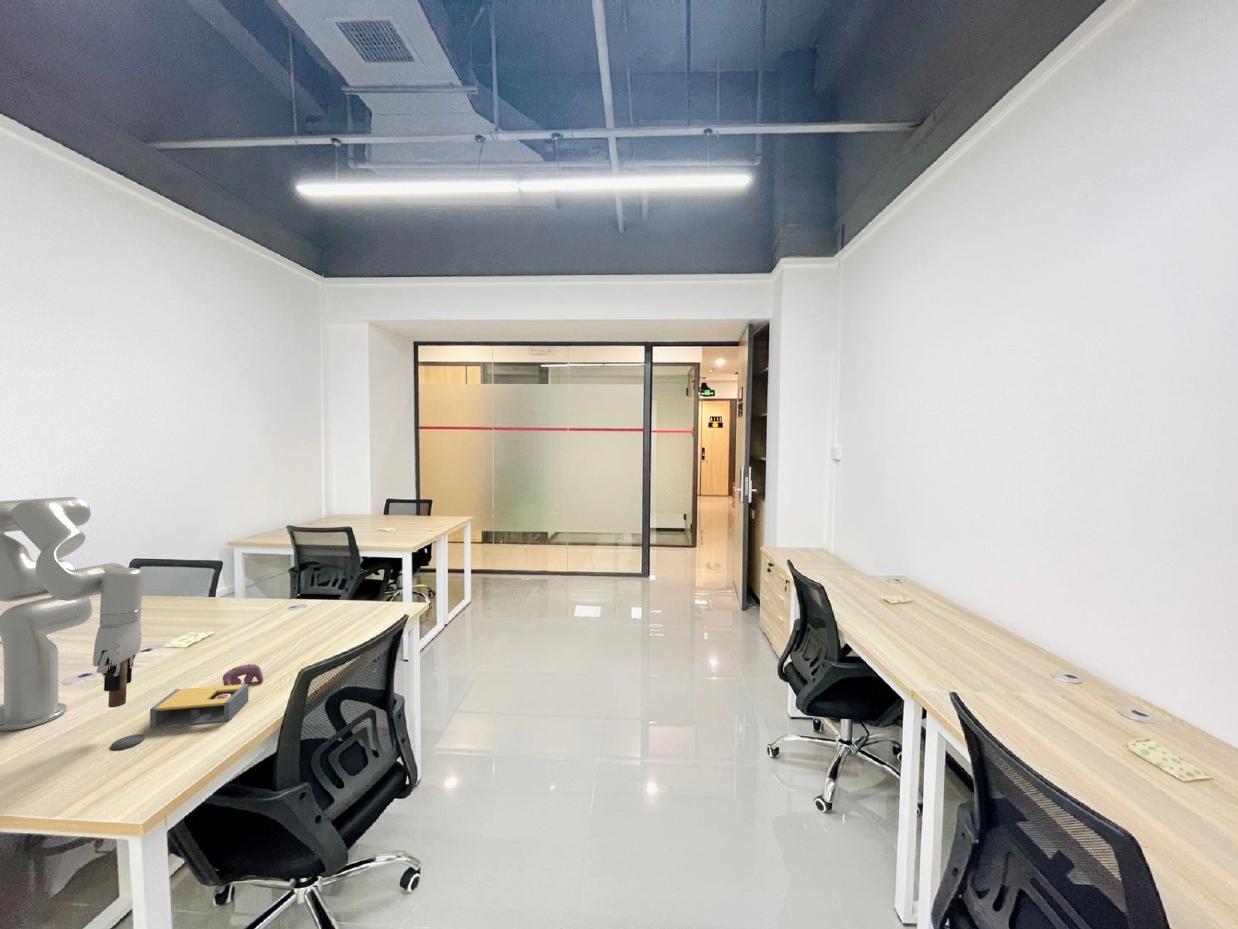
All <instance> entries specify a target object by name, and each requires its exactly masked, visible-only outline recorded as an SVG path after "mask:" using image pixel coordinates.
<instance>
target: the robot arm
mask: <svg viewBox="0 0 1238 929" xmlns="http://www.w3.org/2000/svg"><path fill="white" fill-rule="evenodd" d="M91 512H92V511H91V509H90V506H89V505H88V504H87V502H85V501H84V500H83V499H81V498H79V497H75V496H65V497H49V498H47V497H46V498H32V499H31V498H30V499H17V500H16V499H13V500H0V602H3V603H11V602H17V601H23V600H29V599H33V598H38V597H43V596H47V595H50V596H51V597H47V598H41V599H37V600H33V601H28V602H24V603H21V604H17V605H14V606H11V607H10V608H8V609H6V610H5V611H3V612H2V613H1V614H0V640H1V645H2V653H3V656H2V657H3V704H0V731H1V732H2V731H6V732H7V731H17V730H22V729H27V728H31V727H35V726H38V725H41V724H44V723H47V722H50V721H52V720H55V719H56V718H58V717H59V718H60V717H61V716H62V715H63V714H65V713H66V711H67V708H68V707H67V705H66V703H63V702H59V649H58V647H57V645H56V644H55V642H53V641H51V639H49V638H48V637H47V635H50V634H52V633H55V632H59V631H62V630H67V629H70V628H74V627H77V626H81V625H82V624H84V623H86V622H87V621H88V620H89V619H90V618H91V616H92V614H93V605H92V602H91V599H90V597H92V596H97V595H98V596H99V595H100V604H99V605H100V606H99V607H100V608H99V610H100V611H99V627H98V629H97V631H96V632H97V633H96V637H95V641H94V646H93V653H92V654H93V656H92V657H93V658H92V666H93V667H97V670H96V673H97V674H102V677H103V680H104V681H103V682H104V683H103V691H104V692H109V691H118V690H120V688H121V675H119V670H120V663H121V662H123V661H125V660H126V659H128V663H127V684H131V683H132V674H133V666H134V660H135V658H136V656H137V654H138V653H139V652H140V650H141V646H142V628H141V626H142V625H141V618H142V598H143V597H142V596H143V591H142V590H143V572H142V570H141V569H139V568H135V567H127V566H124V565H122V564H120V563H115V562H112V563H111V562H110V563H104V564H100V565H93V566H92V565H91V566H86V567H80V568H76V567H75V565H73V564H72V563H71V562H69V561H67V560H64V559H62V558H65V557H67V556H68V555H70V554H72V553H74V552H75V551H76V550H78V549H79V548H81V546H82V545H83V544H84V542H85V540H86V535H85V533H84V532H83V531H82V530H81V529H80V528H79V526H82V525H85V524H87V522H89V519H90V518H91ZM19 531H21V532H22V533H23V534H24V535H25V537H27V538H28V540H29V541H30V542H32V543H33V544H34V546H35V547H36V548H37V549H38V550H40V553H39V555H38V557H37V560H36V561H34V560H33V558H32V557H31V555H30V553H29V551H28V548H27V547H26V546H25V545H24V544H22V543H21V542H20V541H19V540H17V539H16V538H13V537H11V536H9V535H7V534H5V533H11V532H19ZM110 662H112V663H110ZM110 667H114V669H112V668H110Z"/></svg>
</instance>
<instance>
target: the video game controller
mask: <svg viewBox="0 0 1238 929" xmlns="http://www.w3.org/2000/svg"><path fill="white" fill-rule="evenodd" d="M242 676H245V677H244V678H243V682H244V684H250V683H251V682H252V681H254V678H256V681H257V682H259V683H260V684H262V683H263V682H264V676H263V671H262V669H261V667H260V666H259V665H257V664H255V663H254V664H252V663H251V664H242V665H239V666H236V667H234V668H232V669H230V670H228V671H227V672H225V673H224V674H223V676H222V683H223V686H228V685H241V684H242V680H241V678H240V677H242Z"/></svg>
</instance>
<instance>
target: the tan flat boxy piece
mask: <svg viewBox="0 0 1238 929" xmlns="http://www.w3.org/2000/svg"><path fill="white" fill-rule="evenodd" d="M249 684H250V683H244V684H242V683H241V684H240V685H228V686H224V685H218V686H217V685H216V686H203V687H202V686H201V687H192V688H179V689H178V688H176V689H174V690H173V691H171V693H169V694H168V695H166V696H165V697H164V698H163V699H161V700H160V701H159V702H157V703H156V704H155V705H154V706H152V707H150V708H149V729H157V728H159V729H160V728H168V727H169V728H171V727H180V726H190V725H200V724H201V725H202V724H212V723H222V722H230V721H232V719H233V718H234V717H235V715H237V714H238V713H239V712H240V711H241V710H242V709H243V707H245V705H246V704H247V703H248V702H249ZM222 694H231V697H230V698H221V699H215V697H217V696H219V695H222Z"/></svg>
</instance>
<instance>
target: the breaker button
mask: <svg viewBox="0 0 1238 929" xmlns="http://www.w3.org/2000/svg"><path fill="white" fill-rule="evenodd" d="M230 697H231V694H222V695H219V696H217V697H215V699H221V698H230Z"/></svg>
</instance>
